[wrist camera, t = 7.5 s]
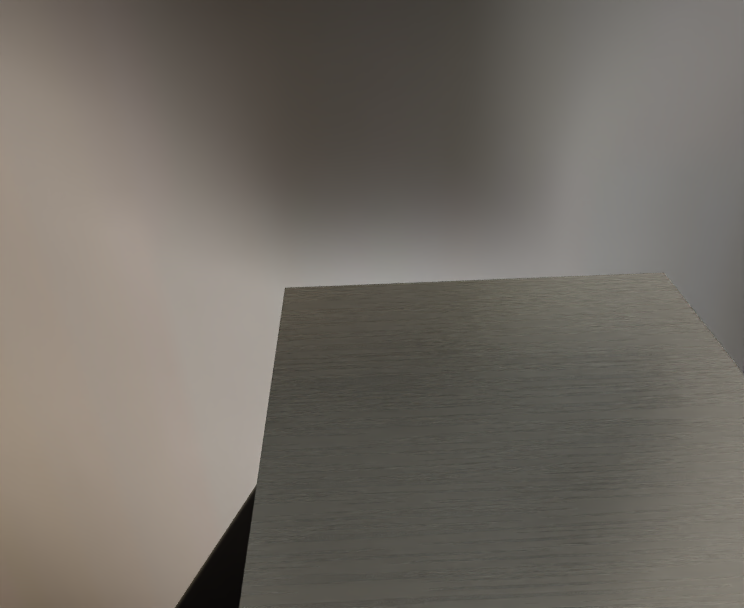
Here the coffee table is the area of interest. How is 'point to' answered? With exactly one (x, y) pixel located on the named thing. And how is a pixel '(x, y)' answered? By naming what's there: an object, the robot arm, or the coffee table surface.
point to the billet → (499, 449)
